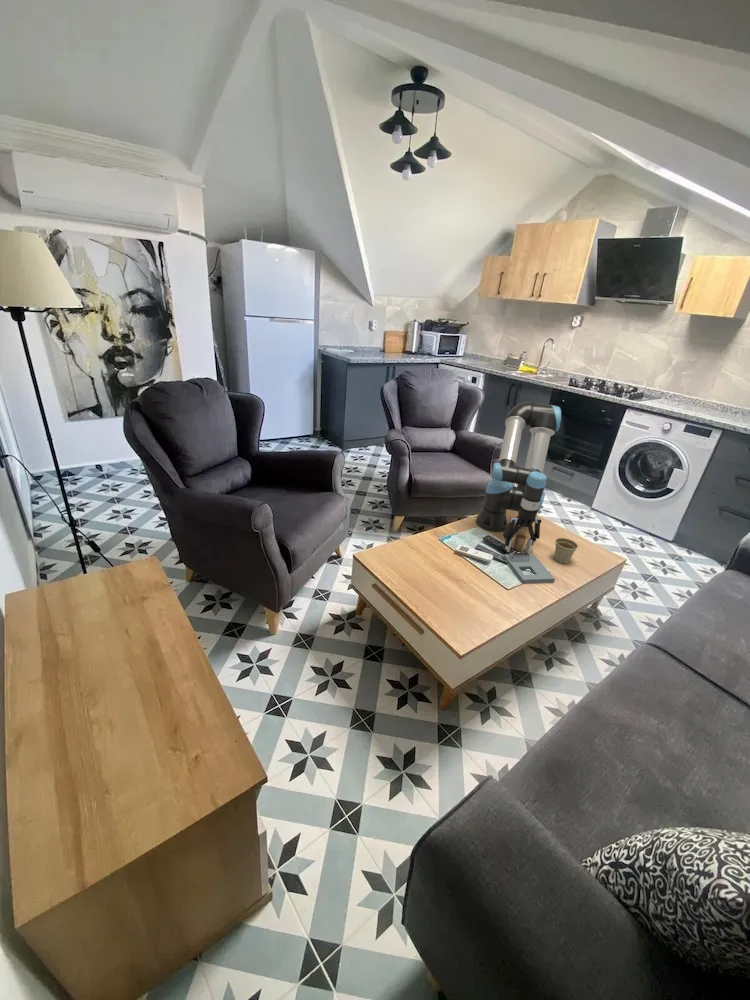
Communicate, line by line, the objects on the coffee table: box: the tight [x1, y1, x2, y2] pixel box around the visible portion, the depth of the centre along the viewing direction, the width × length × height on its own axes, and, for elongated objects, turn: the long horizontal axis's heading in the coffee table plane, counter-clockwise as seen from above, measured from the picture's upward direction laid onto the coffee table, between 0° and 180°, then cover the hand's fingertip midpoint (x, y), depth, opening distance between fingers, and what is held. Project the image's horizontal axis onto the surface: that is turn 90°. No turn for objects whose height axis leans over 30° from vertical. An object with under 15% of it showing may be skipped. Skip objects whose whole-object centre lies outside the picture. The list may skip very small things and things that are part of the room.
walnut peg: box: [511, 533, 527, 552], centre depth 187 cm, size 4×4×8 cm
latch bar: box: [509, 551, 530, 562], centre depth 178 cm, size 3×8×3 cm, turn 99°
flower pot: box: [554, 537, 579, 564], centre depth 184 cm, size 9×9×9 cm
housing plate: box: [503, 553, 556, 585], centre depth 175 cm, size 18×14×2 cm
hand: (516, 551), depth 188 cm, fingers open, 9 cm apart
